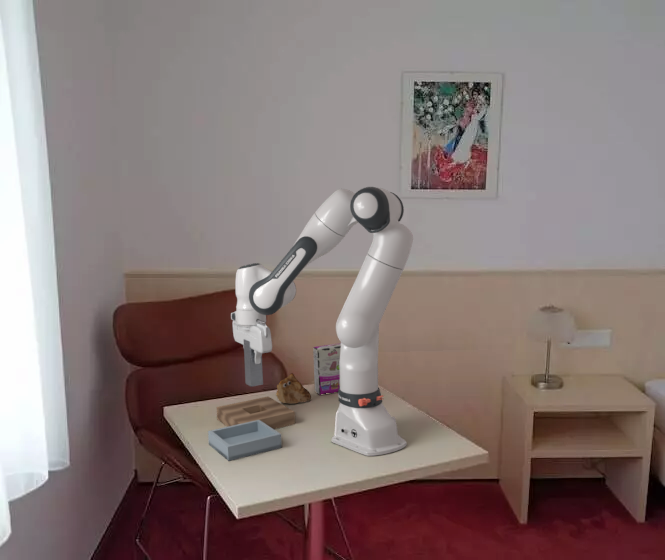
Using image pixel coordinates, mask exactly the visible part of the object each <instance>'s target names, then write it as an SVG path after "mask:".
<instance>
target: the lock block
mask: <svg viewBox="0 0 665 560" xmlns="http://www.w3.org/2000/svg"><path fill="white" fill-rule="evenodd" d="M295 413H296V412H295V411H294V410H293V409H291V408H289V407H287V406H286V405H284V404H283V403H281V402H280V401H277V400H275V399H274V398H272V397H270V396H262V397H259V398H254V399H248V400H243V401H239V402H234V403H229V404H224V405H219V406H216V419H217V420H218V421H219V423H221V424H223V425H224V426H225V427H229V426H233V425H238V424H242V423H246V422H251V421H255V420H260V421H262V422H263V423H265V424H266V425H268V426H269V427H271V428H272V429H274V430H277V429H281V428H285V427H288V426H289V427H290V426H293V425H296V418H295V417H296V416H295V415H296V414H295Z"/></svg>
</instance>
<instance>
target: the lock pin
mask: <svg viewBox="0 0 665 560" xmlns="http://www.w3.org/2000/svg"><path fill="white" fill-rule="evenodd" d="M243 354H244V357H243V359H244V378H245V381H244V382H245V384H246V385H248V386H249V387H256V386H257V387H258V386H261V385H264V379H263V377H264V376H263V372H264V371H263V355H262V356H261V363H260V364H256V363H254V360H253V358H254V357H255V353H254V350H253V349H251V348H250V341H247V340H245V339H244V347H243Z"/></svg>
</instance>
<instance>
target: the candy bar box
mask: <svg viewBox="0 0 665 560" xmlns="http://www.w3.org/2000/svg"><path fill="white" fill-rule="evenodd" d="M312 349H313V351H312V353H313V354H312V355H313V374H314V377H313V379H314V392H315V391H316V392H317V393H318V395H319V396H322V395H321V394H325V395H327V394H326V393H331V394H335V393H334V392H337V393H338V390H339V388H340V368H339V361H340V349H341V342H340V343H332V344H326V345H325V344H324V345H319V346H318V345H317V346H312ZM316 392H315V393H316ZM317 393H316V394H317Z"/></svg>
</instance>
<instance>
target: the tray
mask: <svg viewBox="0 0 665 560" xmlns="http://www.w3.org/2000/svg"><path fill="white" fill-rule="evenodd" d="M207 435H208V437H207V438H208V439H207V440H208V446H210V447H211V448H212V449H213V450H215V451H216V452H217V453H218V454H220V455H221V457H223V458H224V459H225V460H227V461H228V462H230V461H235V460H239V459H243V458H245V457H246V458H247V457H250V456H255V455H258V454H263V453H266V452H270V451H274V450H278V449H282V447H283V446H282V433H280V432H279V431H277V429H272V428H271V427H269V426H268V425H266V424H265V423H263V422H262V421H260V420H255V421H251V422H246V423H242V424H238V425H233V426H229V427H227V426H224V427H219V428H215V429H211V430H208V431H207Z"/></svg>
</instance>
